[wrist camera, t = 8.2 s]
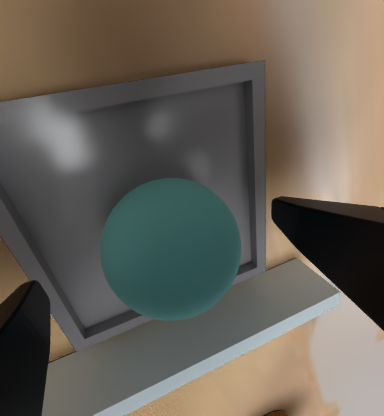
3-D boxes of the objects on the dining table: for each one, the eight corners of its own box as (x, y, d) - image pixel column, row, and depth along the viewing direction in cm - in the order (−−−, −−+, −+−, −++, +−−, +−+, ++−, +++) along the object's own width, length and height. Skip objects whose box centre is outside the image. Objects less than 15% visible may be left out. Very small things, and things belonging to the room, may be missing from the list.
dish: (77, 331, 12) (76, 352, 11) (-55, 112, 7) (-79, 114, 6) (254, 259, 15) (265, 271, 14) (248, 63, 10) (265, 59, 9)
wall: (28, 388, 13) (9, 475, 10) (18, 376, 12) (-7, 465, 9) (295, 270, 17) (337, 305, 14) (296, 257, 17) (340, 292, 14)
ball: (118, 277, 11) (134, 383, 7) (79, 181, 9) (69, 254, 5) (211, 242, 13) (272, 314, 8) (198, 151, 10) (273, 186, 6)
